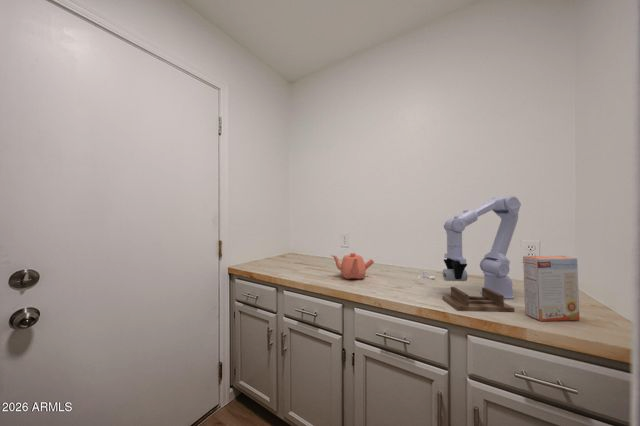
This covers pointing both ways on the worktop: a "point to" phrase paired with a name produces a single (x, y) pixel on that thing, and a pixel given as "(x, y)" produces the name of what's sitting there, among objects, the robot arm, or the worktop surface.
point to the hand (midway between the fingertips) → (454, 277)
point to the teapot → (353, 266)
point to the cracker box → (551, 288)
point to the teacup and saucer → (426, 275)
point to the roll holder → (477, 301)
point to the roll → (449, 275)
